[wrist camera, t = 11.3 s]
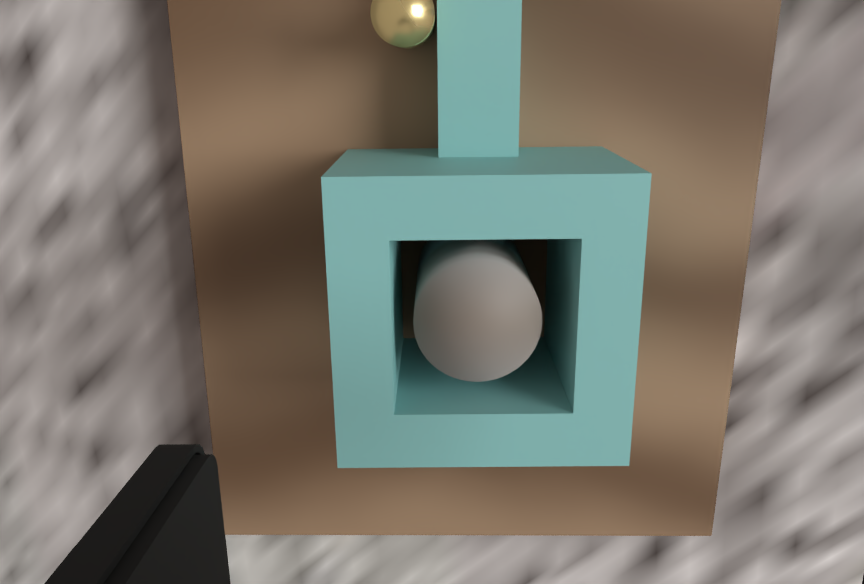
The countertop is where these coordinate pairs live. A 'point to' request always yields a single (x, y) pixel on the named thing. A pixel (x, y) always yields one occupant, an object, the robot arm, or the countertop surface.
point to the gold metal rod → (403, 21)
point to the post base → (391, 102)
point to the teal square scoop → (485, 220)
